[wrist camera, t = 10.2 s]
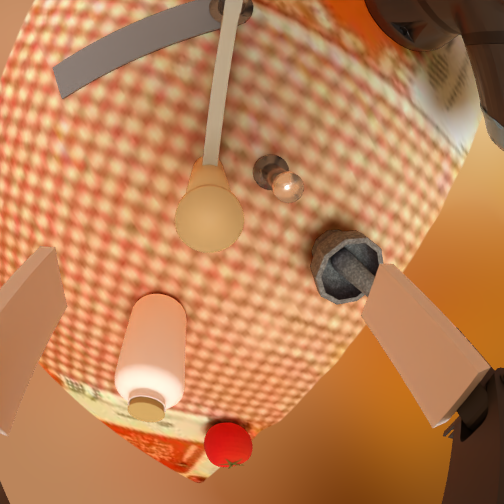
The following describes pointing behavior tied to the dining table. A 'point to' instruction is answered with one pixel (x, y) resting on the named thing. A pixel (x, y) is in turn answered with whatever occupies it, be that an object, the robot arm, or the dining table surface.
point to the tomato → (227, 445)
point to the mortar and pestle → (344, 265)
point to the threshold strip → (134, 44)
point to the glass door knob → (278, 178)
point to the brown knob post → (218, 7)
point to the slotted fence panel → (213, 163)
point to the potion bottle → (153, 357)
